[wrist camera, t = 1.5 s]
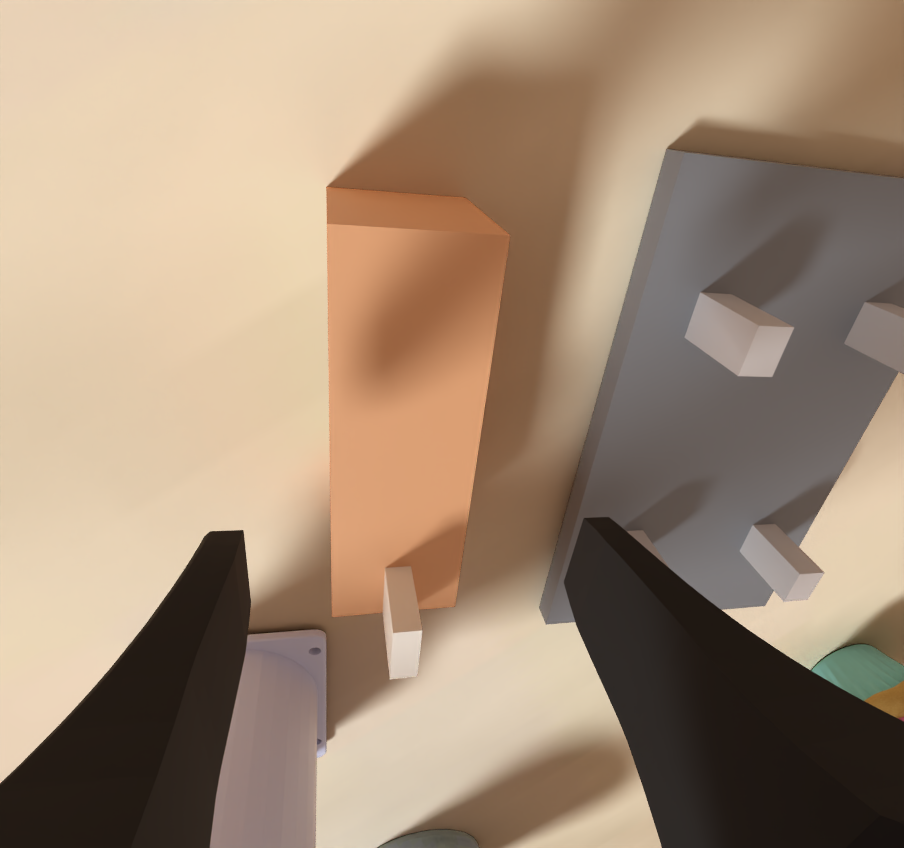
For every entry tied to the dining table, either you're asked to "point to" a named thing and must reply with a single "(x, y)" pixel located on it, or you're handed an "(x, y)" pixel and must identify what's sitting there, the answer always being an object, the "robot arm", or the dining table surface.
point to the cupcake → (866, 676)
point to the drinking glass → (434, 840)
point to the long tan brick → (406, 398)
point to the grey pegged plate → (741, 371)
